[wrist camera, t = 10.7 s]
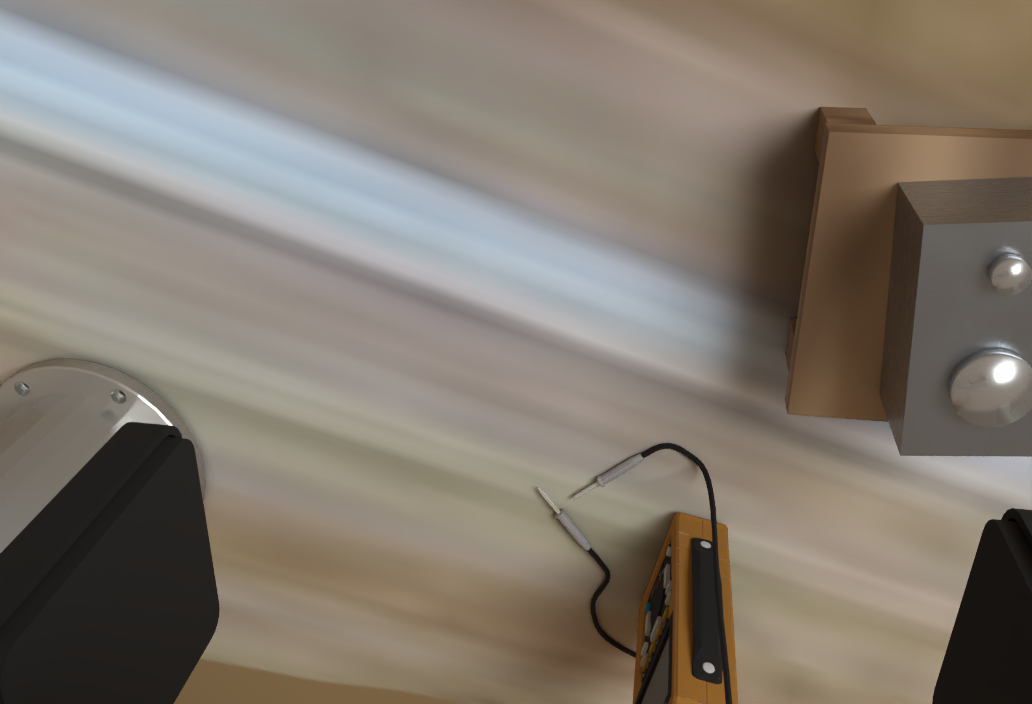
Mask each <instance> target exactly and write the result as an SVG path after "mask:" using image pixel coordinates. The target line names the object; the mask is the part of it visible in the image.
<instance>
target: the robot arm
mask: <svg viewBox="0 0 1032 704" xmlns="http://www.w3.org/2000/svg"><path fill="white" fill-rule="evenodd" d="M204 492H205V474H204V466H203V462H202V459H201V456H200V453H199V450H198V447H197V445H196V443H195V441H194V439H193V437H192V436H191V434H190V432H189V430H188V429H187V427H186V426H185V424H184V423H183V422H182V420H181V419H180V418H179V417H178V415H177V414H176V413H175V412H174V410H173V409H172V408H171V407H170V406H169V405H168V404H166V403H165V402H164V401H163V400H162V399H161V398H160V397H159V396H158V395H157V394H156V393H154V392H153V391H151V390H150V389H149V388H147V387H146V386H144V385H143V384H141V383H140V382H139V381H137V380H135V379H133V378H131V377H129V376H127V375H125V374H123V373H121V372H119V371H117V370H115V369H112V368H109V367H106V366H103V365H100V364H97V363H94V362H88V361H82V360H75V359H52V360H48V361H43V362H39V363H34V364H32V365H30V366H28V367H26V368H24V369H22V370H20V371H18V372H17V373H15V374H14V375H13V376H12V377H10V378H9V379H8V380H6V381H5V382H4V383H2V385H1V386H0V704H173V703H174V702H175V700H176V698H177V696H178V695H179V693H180V691H181V690H182V688H183V686H184V685H185V683H186V681H187V679H188V678H189V676H190V674H191V673H192V671H193V669H194V667H195V666H196V664H197V662H198V661H199V659H200V657H201V656H202V654H203V652H204V650H205V649H206V647H207V645H208V644H209V642H210V640H211V638H212V637H213V634H214V632H215V630H216V627H217V623H218V618H219V600H218V594H217V588H216V581H215V575H214V568H213V562H212V556H211V549H210V543H209V536H208V530H207V524H206V517H205V511H204V504H203V499H204ZM932 704H1032V510H1024V509H1014V508H1012V509H1009V510H1007V511H1006V513H1005V514H1004V515H1003V517H1002V519H1001V520H994V519H992V520H989V521H988V522H987V523H986V525H985V527H984V530H983V533H982V536H981V539H980V542H979V546H978V549H977V552H976V556H975V559H974V562H973V565H972V569H971V572H970V575H969V578H968V582H967V585H966V588H965V591H964V595H963V598H962V601H961V605H960V608H959V611H958V614H957V618H956V621H955V624H954V627H953V631H952V634H951V637H950V641H949V644H948V647H947V650H946V654H945V657H944V660H943V663H942V667H941V670H940V673H939V677H938V680H937V683H936V686H935V690H934V694H933V703H932Z"/></svg>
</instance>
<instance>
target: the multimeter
mask: <svg viewBox="0 0 1032 704" xmlns="http://www.w3.org/2000/svg"><path fill="white" fill-rule="evenodd" d="M661 449H674V450H676V451H679V452H681V453H682V454H684V455H686V456H687V457H688V458H690V459H691V460H693V461H694V462H695V463H696V464H697V465H698V466H699V467H700V469H701V471H702V473H703V475H704V478H705V481H706V484H707V489H708V494H709V502H710V510H711V521H709V520H706V519H702V518H698V517H695V516H691V515H688V514H684V513H680V512H678V513H676V514H675V515H674V517H673V520H672V522H671V525H670V529H669V531H668V534H667V537H666V539H665V542H664V544H663V547H662V550H661V552H660V555H659V557H658V560H657V563H656V565H655V568H654V570H653V573H652V576H651V578H650V581H649V583H648V586H647V589H646V591H645V592H644V595H643V598H642V600H641V604H640V608H639V618H638V633H637V649H636V653H635V652H633V651H631V650H629V649H627V648H625V647H623V646H622V645H620V644H618V643H617V642H615V641H614V640H612V639H611V638H610V637H608V636H607V635H606V634H605V633H604V631H603V630H602V629H601V627H600V626H599V623H598V621H597V617H596V613H595V602H596V600H597V598H598V596H599V595H600V594H601V592H602V591H603V590H604V589H605V587H606V586H607V584H608V583H609V580H610V571H609V570H608V568H607V566H606V565H605V564H604V562H603V561H602V560H601V559H600V557H599V556H598V555H597V554H596V553H595V552H594V551H593V550H592V548H591V546H590V544H589V543H588V541H587V539H586V538H585V537H584V536H583V534H582V533H581V532H580V531H579V529H578V528H577V527H576V526H575V525H574V523H573V522H572V521H571V520H570V519H569V517H568V516H567V515H566V514H565V511H564V510H563V509H561V510H558V508H557V507H556V506H555V505H554V504H553V502H552V501H551V500H550V499H549V498H548V496H547V495H546V494H545V493H544V492H543V490H541V489H540V488H539V487H537V488H538V490H539V492H540V494H541V495H542V496H543V497H544V499H545V500H546V501H547V502H548V503H549V505H550V506H551V507H552V508H553V509H554V511H555V512H556V514H555V518H557V519H558V520H559V521H560V522H561V523H562V524H563V526H564V527H565V528H566V529H567V530H568V532H569V533H570V534H571V535H572V536H573V538H574V539H575V540H576V541H577V542H578V544H579V545H580V546H581V547H583V548H584V549H585V550H586V551H588V552H589V553H590V554H591V555H592V557H593V558H594V559H595V560H596V561H597V563H598V564H599V565H600V566H601V568H602V569H603V570H604V572H605V574H606V578H605V581H604V582H603V584H602V585H601V586H600V587H599V589H598V590H597V591H596V592H595V594H594V596H593V598H592V601H591V615H592V619H593V622H594V625H595V628H596V629H597V631H598V632H599V634H600V635H601V636H602V637H603V638H604V639H605V640H606V641H607V642H609V643H610V644H612V645H613V646H615V647H616V648H618V649H620V650H621V651H623V652H625V653H627V654H629V655H631V656H633V657H635V658H636V663H635V666H636V667H635V677H634V692H633V704H738V692H737V675H736V658H735V641H734V624H733V607H732V591H731V581H730V580H731V576H730V564H729V563H730V561H729V549H728V548H729V546H728V528H727V526H726V525H724V524H720V523H717V522H716V507H715V500H714V493H713V488H712V483H711V479H710V476H709V474H708V471H707V469H706V467H705V466H704V464H703V463H702V462H701V461H700V460H699V459H698V458H697V457H696V456H694V455H693V454H691V453H690V452H689V451H687V450H685V449H684V448H682V447H680V446H678V445H675V444H671V443H664V444H659V445H657V446H654V447H652V448H650V449H648V450H647V451H645V452H643V453H641V454H637V455H635V456H633V457H631V458H629V459H628V460H626V461H624V462H623V463H621V464H619V465H618V466H616V467H614V468H613V469H611V470H610V471H608V472H606V473H605V474H603V475H601V476H597V482H595V483H594V484H592V485H591V486H589V487H587V488H586V489H584V490H582V491H581V492H579V493H577V494H576V495H575V496H574V497H573V498H572V499H575V498H578V497H580V496H581V495H583V494H585V493H586V492H588V491H589V490H591V489H593V488H594V487H596V486H598V485H599V484H600V486H602V487H604V486H605V484H606V483H608V482H610V481H611V480H613V479H615V478H616V477H618V476H620V475H621V474H623V473H625V472H626V471H628V470H630V469H631V468H633V467H635V466H636V465H638V464H639V463H640V462H641V461H642V460H643V459H644V458H645V457H647V456H648V455H650V454H652V453H654V452H656V451H658V450H661ZM572 499H571V500H572Z"/></svg>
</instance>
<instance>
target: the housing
mask: <svg viewBox="0 0 1032 704" xmlns="http://www.w3.org/2000/svg"><path fill="white" fill-rule="evenodd" d="M879 395H880V398H881V401H882V404H883V407H884V410H885V412H886V415H887V418H888V421H889V424H890V427H891V430H892V433H893V436H894V439H895V441H896V444H897V447H898V450H899V453H900V455H902V456H1032V177H1011V178H987V179H963V180H939V181H915V182H898V185H897V197H896V208H895V220H894V231H893V243H892V254H891V266H890V277H889V289H888V300H887V312H886V323H885V334H884V346H883V357H882V369H881V380H880V392H879Z"/></svg>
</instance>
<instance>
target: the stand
mask: <svg viewBox="0 0 1032 704" xmlns="http://www.w3.org/2000/svg"><path fill="white" fill-rule="evenodd" d="M814 151H815V154H816V156H817V158H818V161H819V170H818V177H817V184H816V191H815V198H814V205H813V211H812V218H811V225H810V232H809V239H808V246H807V253H806V260H805V266H804V273H803V280H802V287H801V294H800V301H799V308H798V315H797V319H794V318H790V324H789V331H788V338H787V345H786V352H785V354H786V359H787V364H788V370H789V377H788V383H787V390H786V397H785V402H786V408H787V413H788V414H792V415H805V416H819V417H832V418H845V419H859V420H872V421H885V422H889V421H888V418H887V415H886V412H885V410H884V407H883V404H882V401H881V398H880V395H879V392H880V380H881V369H882V357H883V346H884V334H885V323H886V312H887V300H888V289H889V277H890V266H891V254H892V243H893V231H894V220H895V208H896V197H897V185H898V182H915V181H939V180H963V179H987V178H1011V177H1032V130H1004V129H975V128H945V127H916V126H887V125H877V124H876V123H875V121H874V120H873V118H872V117H871V115H870V114H869V112H868V111H867V109H866V108H835V107H820V113H819V120H818V127H817V134H816V141H815V148H814Z"/></svg>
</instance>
